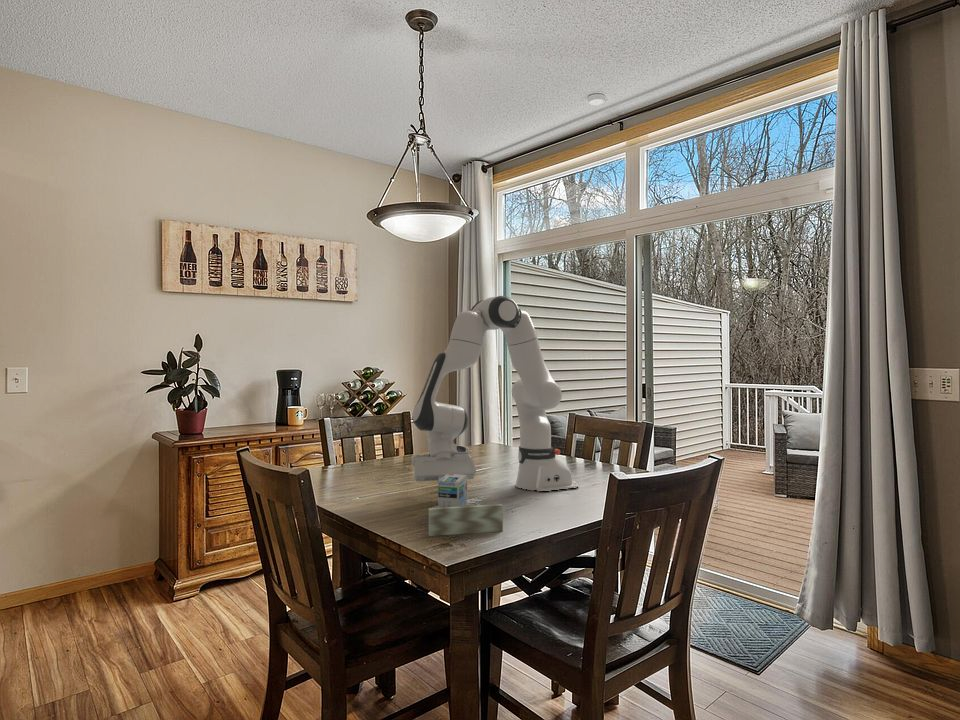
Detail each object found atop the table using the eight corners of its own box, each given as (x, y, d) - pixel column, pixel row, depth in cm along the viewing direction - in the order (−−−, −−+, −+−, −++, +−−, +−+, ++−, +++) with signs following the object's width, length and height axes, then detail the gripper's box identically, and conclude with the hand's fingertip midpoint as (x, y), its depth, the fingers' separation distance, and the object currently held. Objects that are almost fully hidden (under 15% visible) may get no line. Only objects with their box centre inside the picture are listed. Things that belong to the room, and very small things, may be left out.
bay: (489, 516, 171) (489, 492, 171) (502, 531, 157) (502, 505, 157) (422, 520, 166) (422, 495, 166) (429, 536, 152) (429, 509, 152)
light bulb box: (459, 518, 168) (459, 481, 168) (437, 517, 170) (437, 480, 169) (467, 508, 179) (467, 474, 178) (446, 507, 180) (446, 473, 180)
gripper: (411, 449, 188) (415, 486, 179) (473, 447, 193) (479, 483, 184) (410, 460, 193) (413, 497, 183) (470, 458, 197) (476, 494, 188)
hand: (447, 490), depth 183 cm, fingers closed
